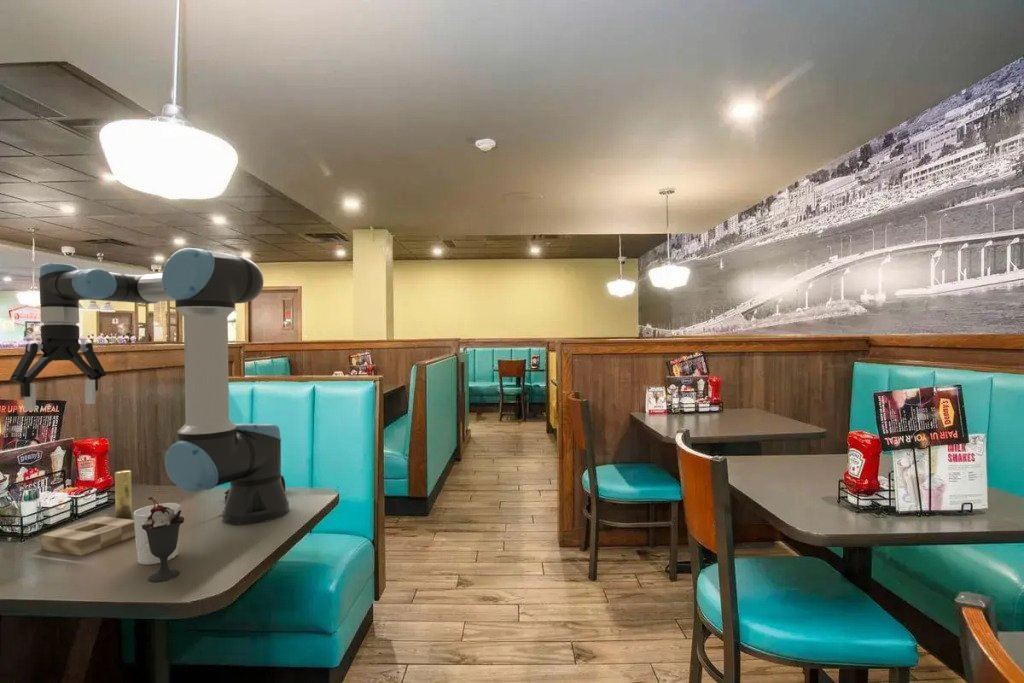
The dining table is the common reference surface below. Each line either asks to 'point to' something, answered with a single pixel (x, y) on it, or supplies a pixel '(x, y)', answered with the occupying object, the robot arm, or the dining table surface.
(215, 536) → the dining table surface
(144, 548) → the white cup
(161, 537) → the sundae
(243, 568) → the dining table surface
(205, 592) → the dining table surface
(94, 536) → the oak socket block
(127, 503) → the brass pin
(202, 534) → the dining table surface
